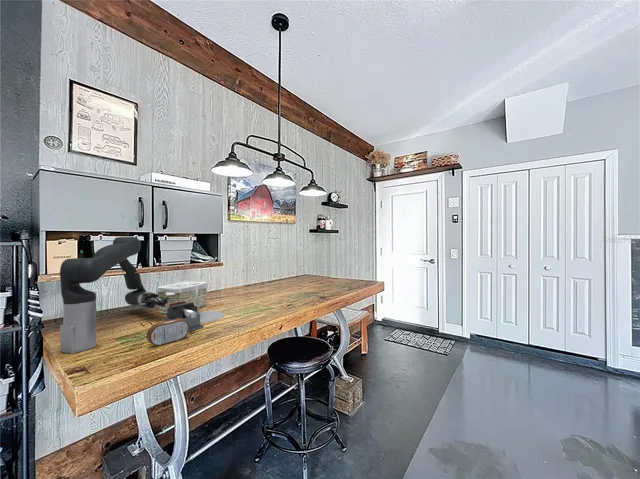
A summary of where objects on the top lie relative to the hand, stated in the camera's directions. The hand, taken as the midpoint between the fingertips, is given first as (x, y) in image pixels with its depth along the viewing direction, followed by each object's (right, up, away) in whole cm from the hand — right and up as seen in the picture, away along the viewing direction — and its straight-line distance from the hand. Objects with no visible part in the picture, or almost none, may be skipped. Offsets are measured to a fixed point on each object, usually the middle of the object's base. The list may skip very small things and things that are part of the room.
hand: (163, 303), depth 134 cm
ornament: (+19, -9, +10) cm, 23 cm away
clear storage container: (-3, -9, +26) cm, 27 cm away
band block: (+15, -9, -11) cm, 21 cm away
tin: (+18, -9, -27) cm, 33 cm away
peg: (+17, -4, -13) cm, 22 cm away
